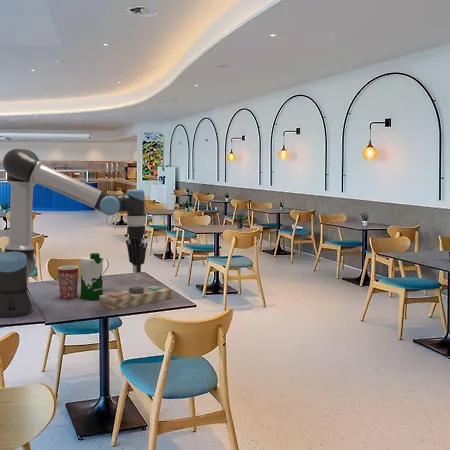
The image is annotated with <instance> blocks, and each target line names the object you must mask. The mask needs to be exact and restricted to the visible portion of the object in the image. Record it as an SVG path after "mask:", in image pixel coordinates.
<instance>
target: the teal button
mask: <svg viewBox="0 0 450 450" xmlns="http://www.w3.org/2000/svg"><path fill="white" fill-rule="evenodd" d="M158 286H159V285H152V287H150V286H147V287H148V289H149V290H153V291H155V290H161V289H162V287H163V286H160V287H158Z"/></svg>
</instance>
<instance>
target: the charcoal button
mask: <svg viewBox="0 0 450 450" xmlns="http://www.w3.org/2000/svg"><path fill="white" fill-rule="evenodd" d="M144 288H145V287H141V286H138V285H137V286H133V287H128V289H129V293H132V294H139V293H144Z"/></svg>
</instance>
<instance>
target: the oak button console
mask: <svg viewBox="0 0 450 450" xmlns="http://www.w3.org/2000/svg"><path fill="white" fill-rule="evenodd" d="M152 286H153V285H152ZM152 286H146V287H143V288H144V293H139V294H132V293H129V290H123V291H119V292H116V293H121V294H124V296H123V297H118V298H114V297H111V296H110V294H114V293H115V292H112V293H106V294H103V295H100V296H99V297H100V298H99V305H100V306H101V307H105V308H108V309H111V310H114V311H115V310H121V309H125V308H130V307H134V306H140V305H145V304H149V303H155V302H159V301H163V300H169V298H170V299H172V289H170V288H167V287H164V286H159V285H157V286H158V287H162V289H161V290H155V291H153V290H149V289H148V287H152Z"/></svg>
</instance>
